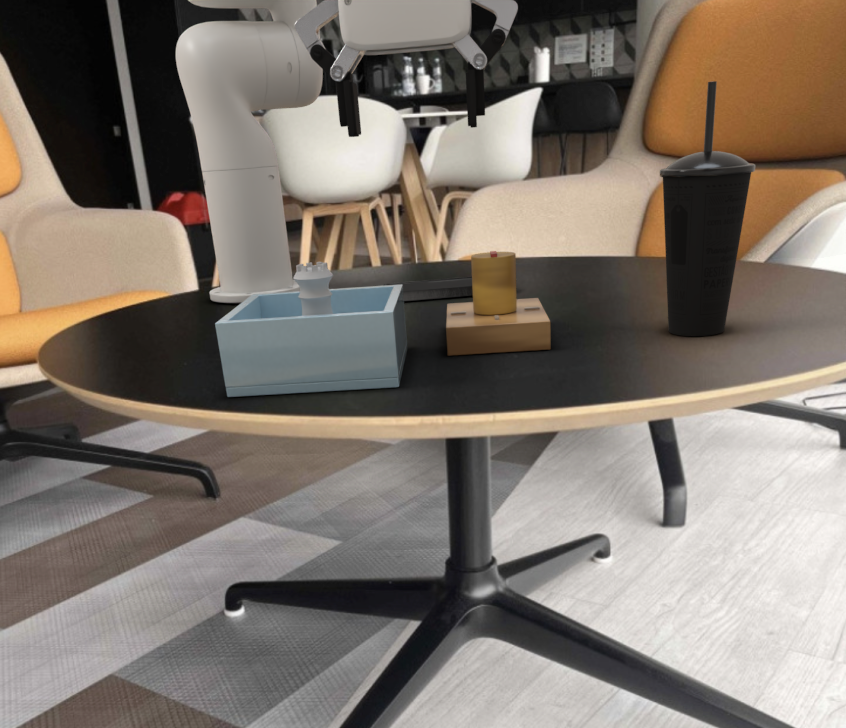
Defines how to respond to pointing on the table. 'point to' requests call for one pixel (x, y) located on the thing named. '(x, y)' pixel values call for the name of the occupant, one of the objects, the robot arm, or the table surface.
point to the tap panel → (497, 329)
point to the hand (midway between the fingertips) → (413, 131)
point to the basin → (314, 343)
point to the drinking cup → (703, 232)
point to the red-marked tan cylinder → (494, 283)
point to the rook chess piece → (314, 288)
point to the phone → (436, 288)
